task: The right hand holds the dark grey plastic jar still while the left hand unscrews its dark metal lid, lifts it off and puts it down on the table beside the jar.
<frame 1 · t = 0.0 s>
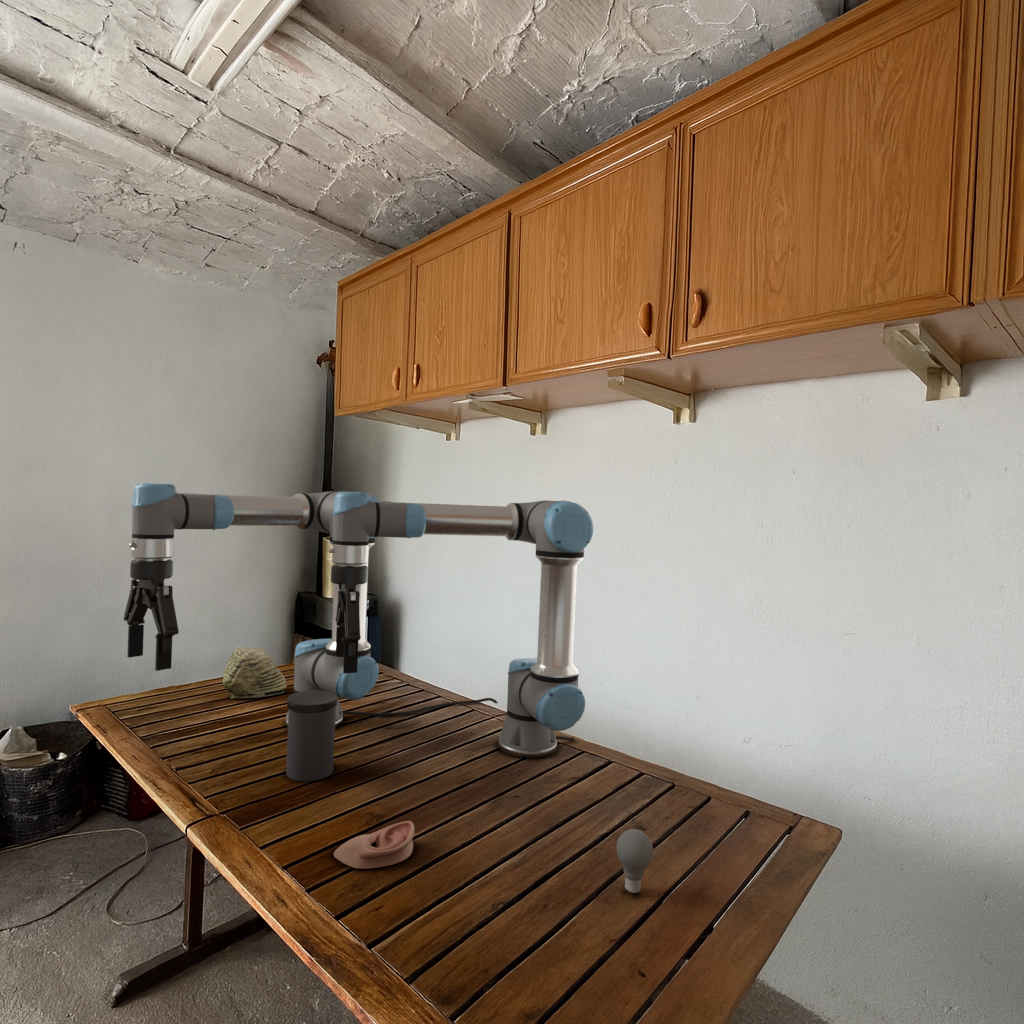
left hand: (148, 662, 129), 28 cm above the table, tool pointing down, fingers open, 13 cm apart
right hand: (345, 664, 135), 28 cm above the table, tool pointing down, fingers open, 13 cm apart
anatomical model: (374, 852, 114), on the table
light bulb: (632, 891, 106), on the table
jar: (310, 771, 146), on the table
fossil: (254, 694, 198), on the table
lid: (312, 698, 145), point 17 cm above the table, screwed on, not yet turned
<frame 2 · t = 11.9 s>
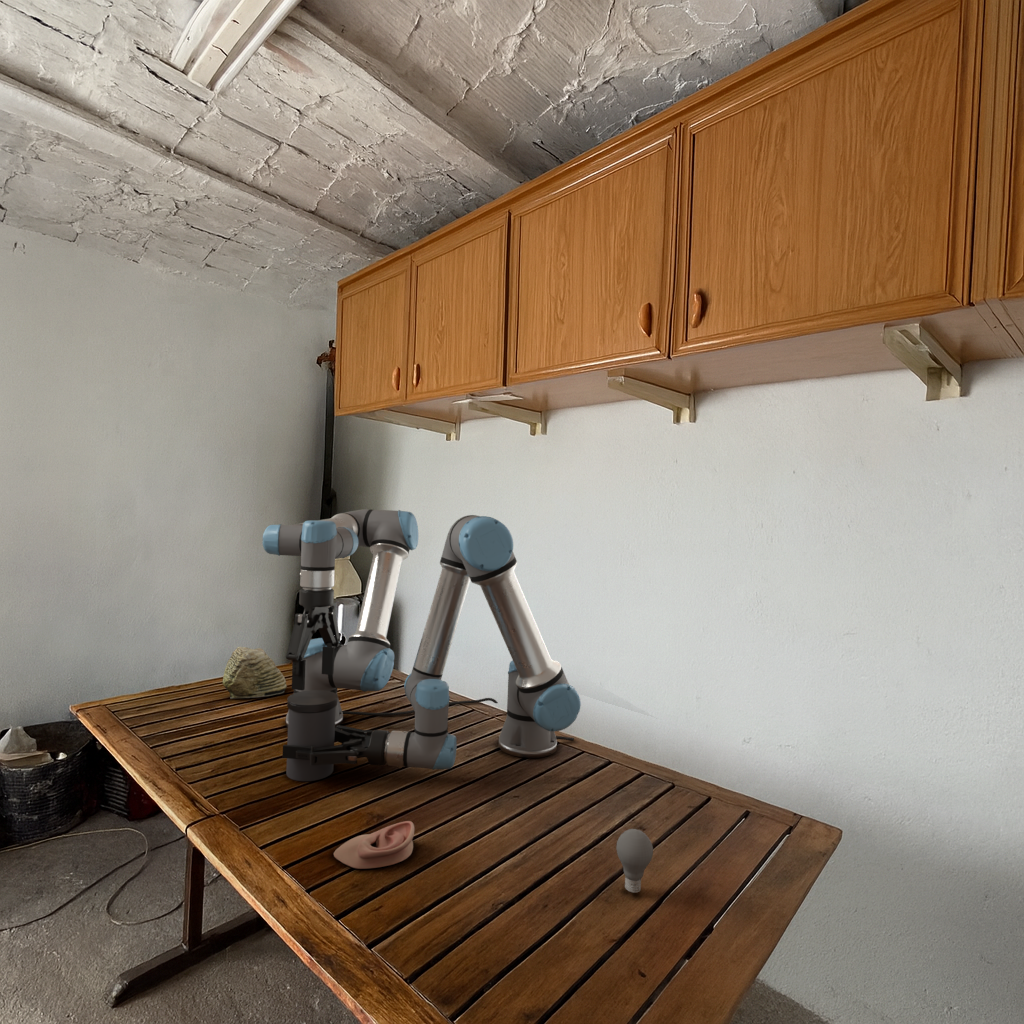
left hand: (313, 681, 145), 21 cm above the table, tool pointing down, fingers open, 12 cm apart
right hand: (293, 741, 146), 7 cm above the table, tool horizontal, fingers closed on jar, 10 cm apart
jar: (310, 771, 146), on the table, touching right hand
everything else where it was.
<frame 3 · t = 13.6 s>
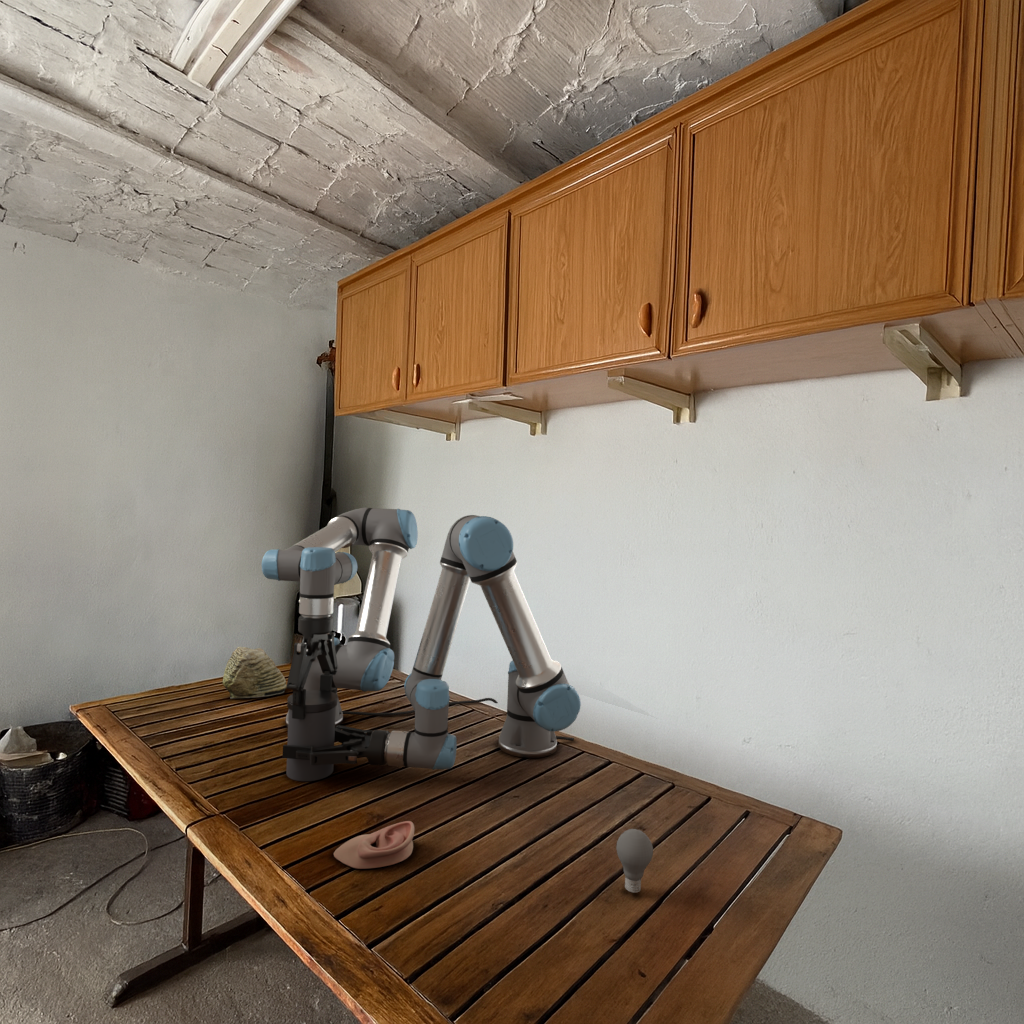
left hand: (312, 710, 145), 14 cm above the table, tool pointing down, fingers closed on lid, 11 cm apart
right hand: (293, 741, 146), 7 cm above the table, tool horizontal, fingers closed on jar, 10 cm apart
jar: (310, 771, 146), on the table, touching right hand
lid: (312, 698, 145), point 17 cm above the table, screwed on, not yet turned, touching left hand
everything else where it was.
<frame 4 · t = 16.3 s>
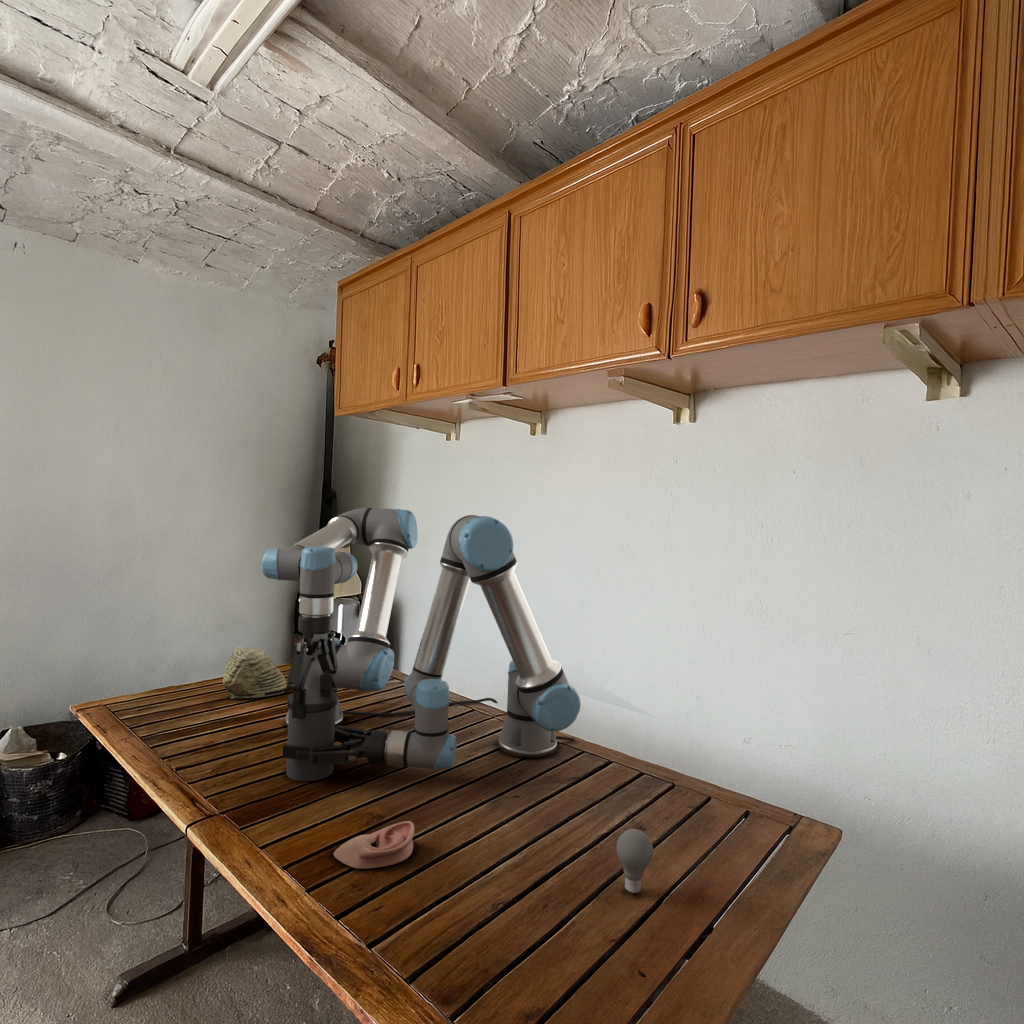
left hand: (312, 709, 145), 14 cm above the table, tool pointing down, fingers closed on lid, 11 cm apart
right hand: (293, 741, 146), 7 cm above the table, tool horizontal, fingers closed on jar, 10 cm apart
jar: (310, 771, 146), on the table, touching right hand
lid: (312, 698, 145), point 17 cm above the table, turned 63° so far, risen 0.2 cm, still on its thread, touching left hand
everything else where it was.
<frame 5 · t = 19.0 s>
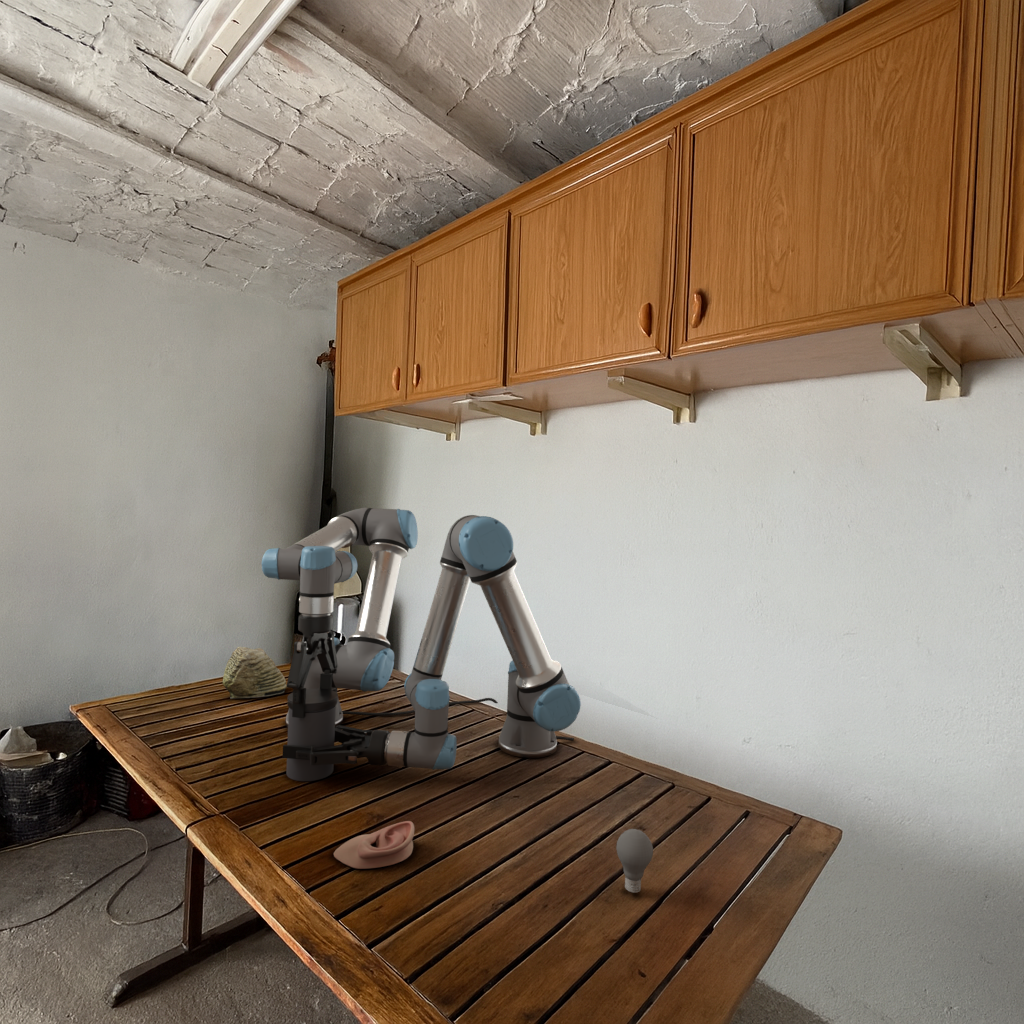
left hand: (312, 708, 145), 14 cm above the table, tool pointing down, fingers closed on lid, 11 cm apart
right hand: (293, 741, 146), 7 cm above the table, tool horizontal, fingers closed on jar, 10 cm apart
jar: (310, 771, 146), on the table, touching right hand
lid: (312, 697, 145), point 17 cm above the table, turned 126° so far, risen 0.3 cm, still on its thread, touching left hand
everything else where it was.
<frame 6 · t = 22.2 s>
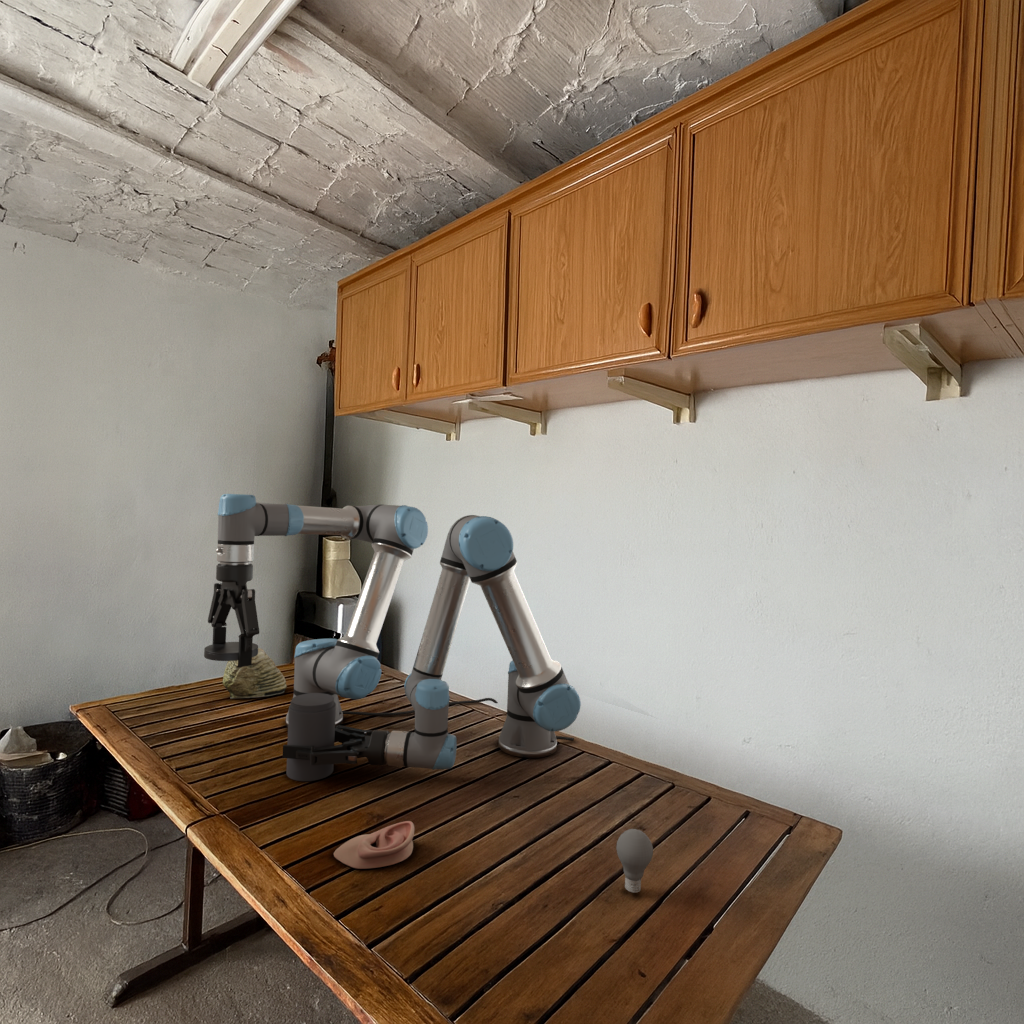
left hand: (231, 660, 142), 26 cm above the table, tool pointing down, fingers closed on lid, 11 cm apart
right hand: (293, 741, 146), 7 cm above the table, tool horizontal, fingers closed on jar, 10 cm apart
jar: (310, 771, 146), on the table, touching right hand
lid: (231, 648, 142), point 28 cm above the table, off its thread, touching left hand
everything else where it was.
when the left hand's fingers open (0 cm above the table, at t = 25.3 s): lid drops 2 cm, point 1 cm above the table.
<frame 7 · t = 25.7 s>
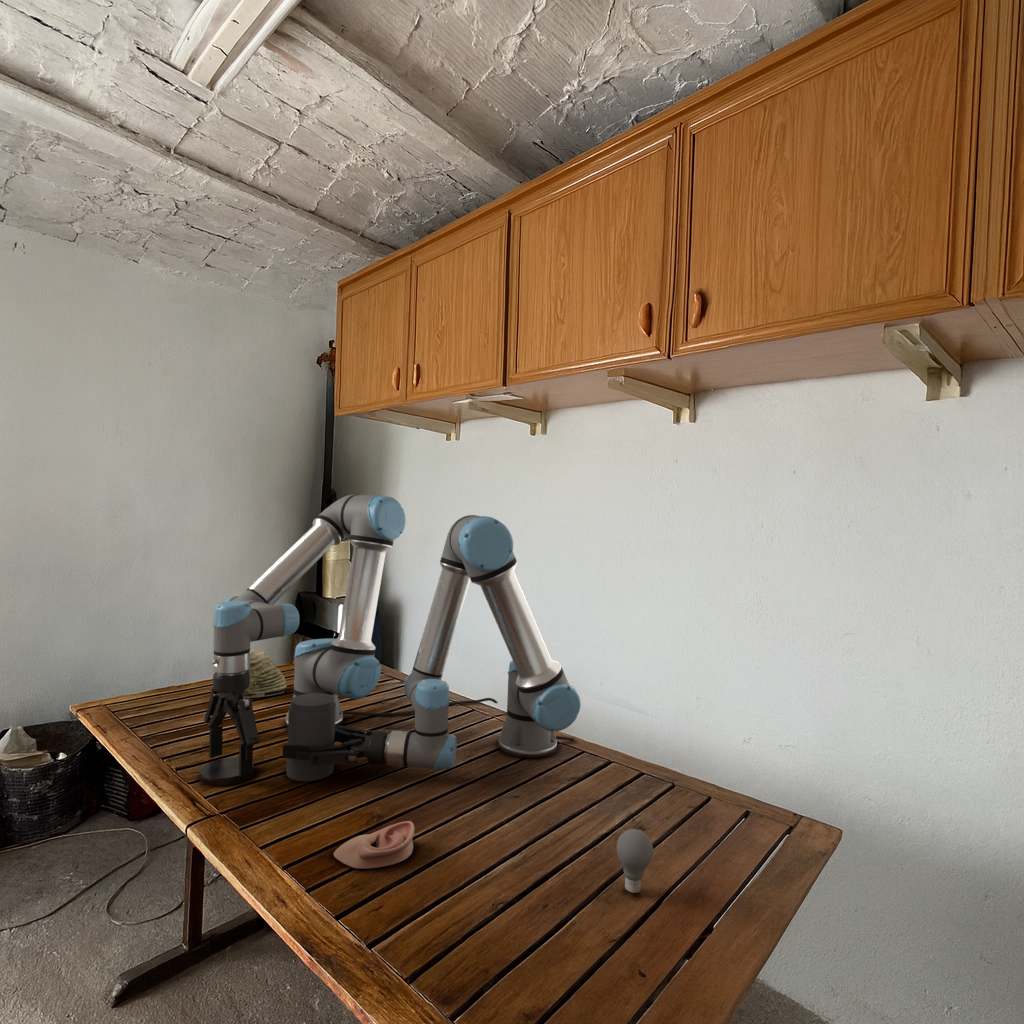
left hand: (230, 764, 143), 2 cm above the table, tool pointing down, fingers open, 13 cm apart
right hand: (293, 741, 146), 7 cm above the table, tool horizontal, fingers closed on jar, 10 cm apart
jar: (310, 771, 146), on the table, touching right hand
lid: (227, 769, 142), point 1 cm above the table, off its thread
everything else where it was.
when the right hand's fingers open (7 cm above the table, at t = 26.3 s): jar stays where it is, on the table.
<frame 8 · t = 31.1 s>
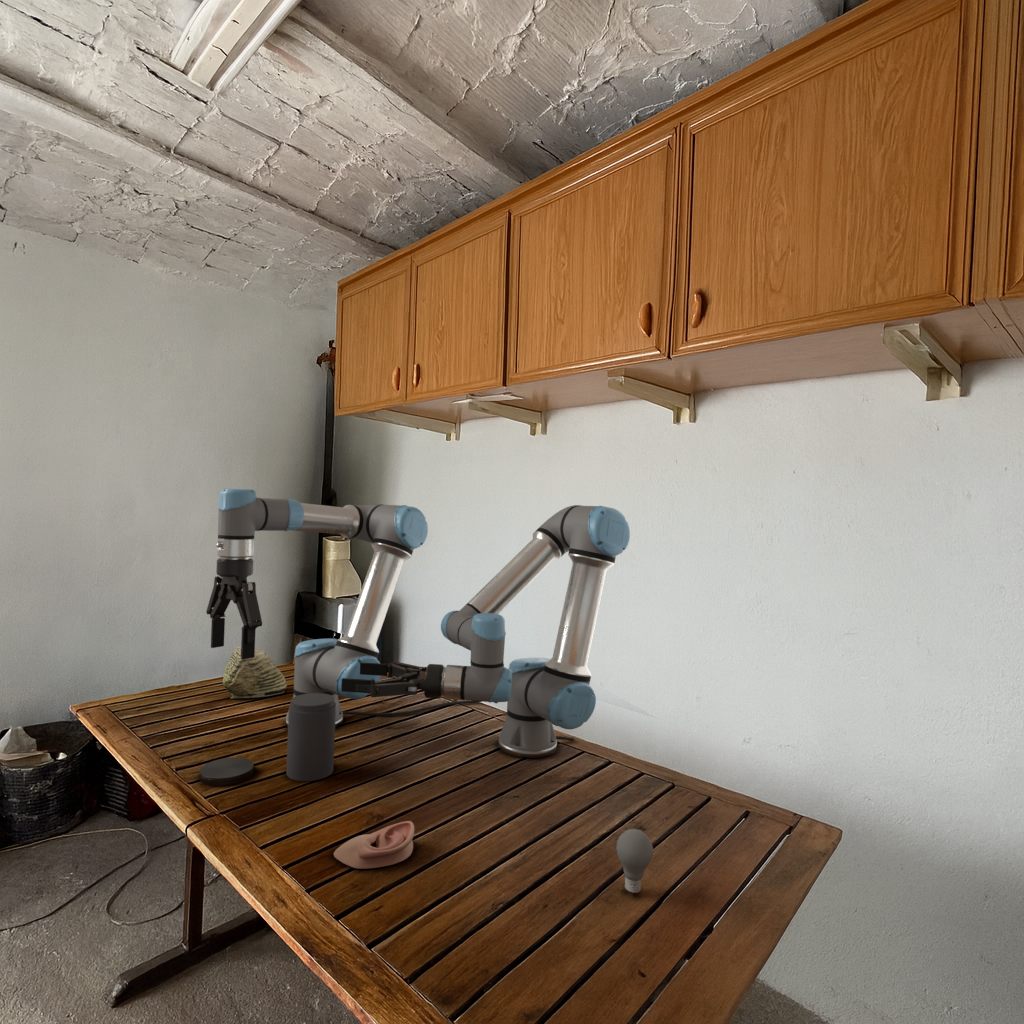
left hand: (232, 652, 142), 28 cm above the table, tool pointing down, fingers open, 13 cm apart
right hand: (351, 676, 145), 23 cm above the table, tool horizontal, fingers open, 13 cm apart
jar: (310, 771, 146), on the table
everything else where it was.
at the end: lid came off its thread; lid point 1.3 cm above the table; the left hand is holding nothing; the right hand is holding nothing; jar tilted 0°; jar moved 0.0 cm from its start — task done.
